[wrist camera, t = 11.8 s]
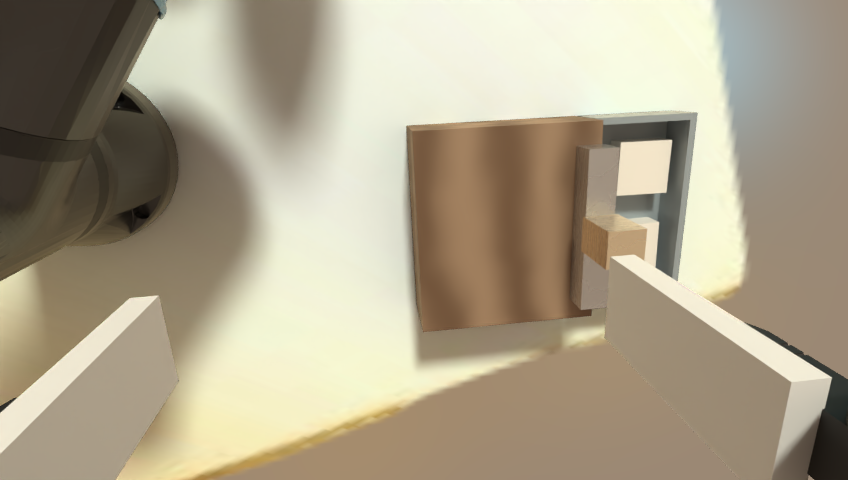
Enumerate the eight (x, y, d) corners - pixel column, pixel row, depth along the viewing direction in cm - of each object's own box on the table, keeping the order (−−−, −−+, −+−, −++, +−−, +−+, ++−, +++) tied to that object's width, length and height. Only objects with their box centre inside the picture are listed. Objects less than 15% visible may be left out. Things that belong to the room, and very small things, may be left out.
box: (569, 290, 52) (585, 306, 48) (577, 115, 46) (596, 118, 42) (653, 282, 53) (675, 297, 49) (671, 110, 47) (697, 112, 43)
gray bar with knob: (566, 298, 45) (601, 334, 38) (573, 145, 41) (613, 157, 34) (597, 295, 45) (637, 331, 39) (608, 143, 41) (654, 154, 34)
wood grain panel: (416, 304, 50) (423, 332, 44) (406, 125, 45) (412, 131, 39) (566, 290, 52) (591, 315, 46) (574, 116, 46) (603, 120, 40)
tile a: (655, 269, 49) (644, 262, 51) (659, 222, 48) (648, 216, 49) (607, 274, 49) (598, 267, 51) (610, 226, 47) (600, 221, 49)
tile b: (666, 192, 47) (654, 188, 49) (672, 139, 45) (660, 137, 47) (616, 195, 46) (606, 191, 48) (621, 142, 45) (610, 140, 47)
